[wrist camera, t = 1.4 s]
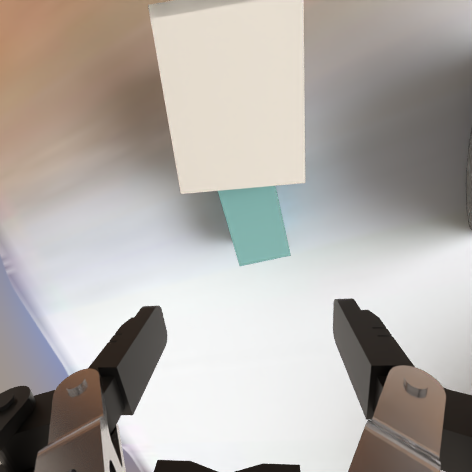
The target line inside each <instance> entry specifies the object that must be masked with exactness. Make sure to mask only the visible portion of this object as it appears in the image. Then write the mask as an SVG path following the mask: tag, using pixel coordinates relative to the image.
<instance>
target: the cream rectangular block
mask: <svg viewBox="0 0 472 472" xmlns="http://www.w3.org/2000/svg"><path fill="white" fill-rule="evenodd" d="M148 7H149V13H150V19H151V25H152V30H153V36H154V42H155V48H156V54H157V59H158V65H159V71H160V77H161V82H162V88H163V94H164V100H165V106H166V111H167V117H168V123H169V129H170V134H171V140H172V146H173V152H174V158H175V163H176V169H177V175H178V181H179V186H180V192H181V194H187V193H198V192H210V191H221V190H232V189H243V188H254V187H265V186H277V185H288V184H299V183H305V104H304V1H303V0H173V1H167V2H162V3H156V4H151V5H148Z"/></svg>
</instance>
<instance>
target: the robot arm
mask: <svg viewBox="0 0 472 472" xmlns="http://www.w3.org/2000/svg"><path fill="white" fill-rule="evenodd" d="M333 334H334V339H335V343H336V345H337V348H338V350H339V353H340V355H341V358H342V360H343V363H344V365H345V368H346V370H347V373H348V375H349V378H350V380H351V383H352V385H353V387H354V390H355V392H356V395H357V397H358V400H359V402H360V405H361V407H362V410H363V412H364V415H365V417H366V419H372V420H371V421H370V420H368V421H367V423H366V425H365V428H364V430H363V433H362V436H361V438H360V441H359V444H358V447H357V449H356V452H355V455H354V457H353V460H352V463H351V465H350V468H349V471H348V472H440V470H443V471H446V472H472V395H468V394H464V393H460V392H456V391H452V390H448V389H446V388H443V387H442V385H441V384H440V383H439V382H438V381H437V380H436V379H435V378H434V377H433V376H431V375H430V374H428V373H426V372H425V371H423V370H420V369H418V368H415V367H414V365H413V364H412V363H411V361H410V360H409V358H408V357H407V356H406V354H405V353H404V352H403V350H402V349H401V347H400V346H399V345H398V343H397V342H396V340H395V339H394V338H393V337H392V336H391V334H390V332H389V331H388V329H386V327H385V325H384V324H383V322H382V321H381V320H380V318H379V317H377V316H376V315H375V314H373V313H372V312H370V311H369V310H361V309H360V308H359V306H358V305H357V303H356V302H355V300H354V299H335V300H334V311H333ZM166 343H167V330H166V326H165V322H164V318H163V313H162V309H161V307H160V306H144V307H142V308H141V309H140V311H139V312H138V313H137V315H136V316H135V317H134V318H131V319H129V320H128V321H127V322H125V323H124V324H123V325H122V326H121V327H120V328H119V329H118V331H117V332H116V333H115V335H114V336H113V337H112V338H111V340H110V342H109V343H108V344H107V345H106V346H105V347H104V349H103V350H102V351H101V352H100V354H99V355H98V356H97V358H96V359H95V360H94V361H93V363H92V364H91V365H90V367H89V368H88V369H83V370H80V371H78V372H75V373H73V374H72V375H70V376H69V377H67V378H66V379H65V380H63V381H62V382H61V383H60V384H59V386H58V387H57V388H56V390H53V391H50V392H46V393H42V394H39V395H35V396H33V394H32V392H31V390H30V389H29V387H27V386H18V387H14V388H11V389H9V390H7V391H5V392H3V393H1V394H0V461H1V463H2V464H1V465H0V472H126V469H125V463H124V457H123V451H122V445H121V439H120V433H119V427H118V424H117V422H118V420H119V418H120V416H121V415H133V414H134V412H135V410H136V407H137V405H138V403H139V401H140V399H141V397H142V395H143V393H144V391H145V388H146V386H147V384H148V382H149V380H150V378H151V376H152V374H153V372H154V369H155V367H156V365H157V363H158V361H159V359H160V357H161V355H162V353H163V350H164V348H165V346H166ZM154 472H217V471H215V470H212V469H210V468H207V467H204V466H202V465H199V464H197V463H194V462H192V461H172V460H157V463H156V467H155V470H154ZM235 472H300V465H288V464H260V465H256V466H253V467H249V468H246V469H242V470H239V471H235Z"/></svg>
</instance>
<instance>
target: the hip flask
mask: <svg viewBox="0 0 472 472" xmlns="http://www.w3.org/2000/svg"><path fill="white" fill-rule="evenodd" d="M466 198H467V212H468V220H469V226H470V228H471V229H472V130H471V137H470V144H469V152H468V163H467V178H466Z"/></svg>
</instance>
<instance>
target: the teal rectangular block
mask: <svg viewBox="0 0 472 472" xmlns="http://www.w3.org/2000/svg"><path fill="white" fill-rule="evenodd" d="M218 194H219V197H220V201H221V204H222V207H223V211H224V214H225V218H226V221H227V224H228V228H229V231H230V235H231V238H232V241H233V245H234V248H235V252H236V255H237V258H238V262H239V265H240V266H243V265H248V264H253V263H258V262H262V261H267V260H272V259H277V258H281V257H286V256H291V255H290V250H289V246H288V241H287V237H286V232H285V227H284V223H283V218H282V214H281V209H280V205H279V200H278V196H277V191H276V187H275V186H265V187H254V188H243V189H232V190H221V191H218Z"/></svg>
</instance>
